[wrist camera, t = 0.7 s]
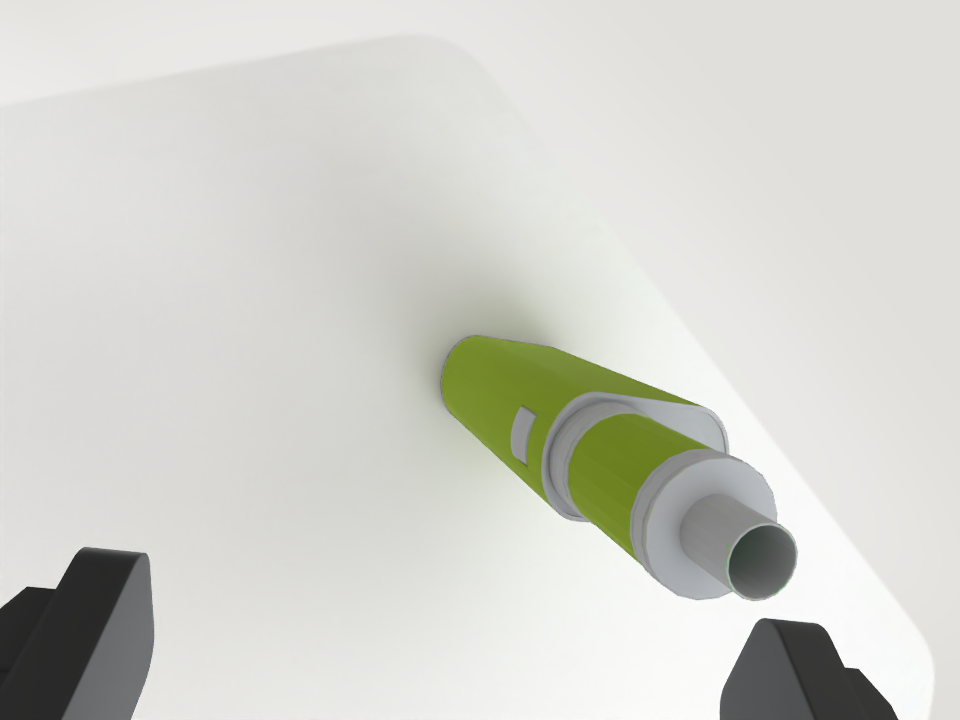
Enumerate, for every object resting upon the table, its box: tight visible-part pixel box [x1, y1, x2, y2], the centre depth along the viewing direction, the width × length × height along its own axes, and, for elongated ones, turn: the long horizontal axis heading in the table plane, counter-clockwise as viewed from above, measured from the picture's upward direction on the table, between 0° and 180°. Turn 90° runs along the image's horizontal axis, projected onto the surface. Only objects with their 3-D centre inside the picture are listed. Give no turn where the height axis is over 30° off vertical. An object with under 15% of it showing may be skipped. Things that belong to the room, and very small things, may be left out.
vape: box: [441, 335, 798, 601], centre depth 25 cm, size 4×6×20 cm, turn 80°
